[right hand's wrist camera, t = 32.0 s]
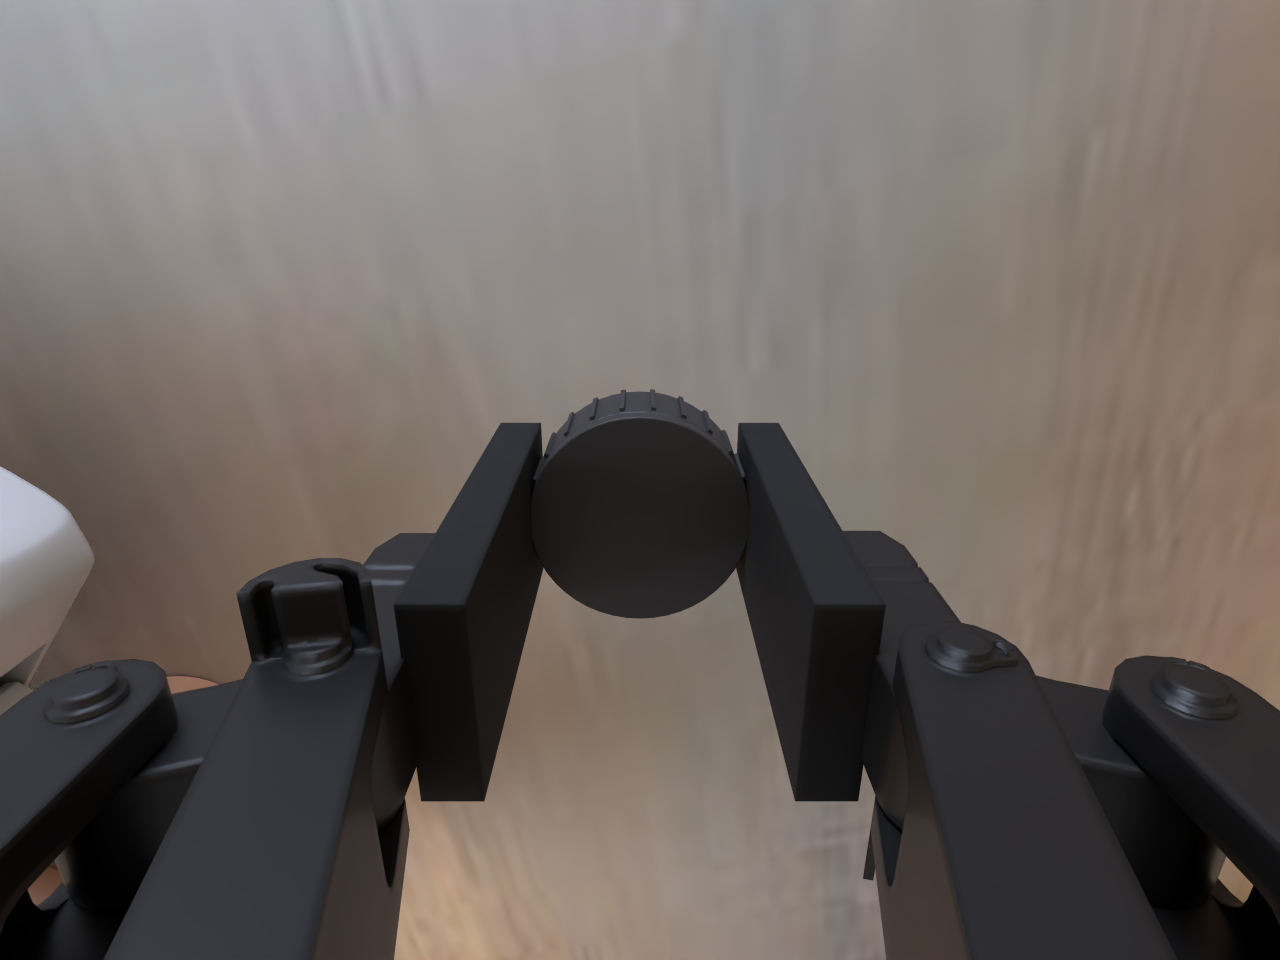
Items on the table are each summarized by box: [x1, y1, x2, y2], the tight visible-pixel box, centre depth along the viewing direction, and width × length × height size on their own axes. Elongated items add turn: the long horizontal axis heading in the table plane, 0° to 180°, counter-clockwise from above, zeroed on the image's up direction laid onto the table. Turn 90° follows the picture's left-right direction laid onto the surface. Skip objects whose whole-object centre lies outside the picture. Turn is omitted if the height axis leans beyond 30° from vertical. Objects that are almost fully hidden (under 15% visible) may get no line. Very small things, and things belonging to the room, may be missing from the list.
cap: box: [530, 389, 749, 618], centre depth 13 cm, size 4×4×2 cm
